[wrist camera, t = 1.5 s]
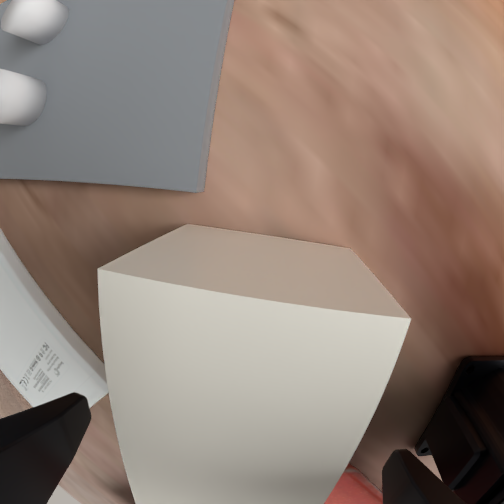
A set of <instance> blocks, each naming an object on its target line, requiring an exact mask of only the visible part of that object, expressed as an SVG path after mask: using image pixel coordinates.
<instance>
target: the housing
mask: <svg viewBox="0 0 504 504" xmlns="http://www.w3.org/2000/svg"><path fill="white" fill-rule="evenodd" d="M98 296H99V313H100V326H101V337H102V347H103V356H104V364H105V372H106V379H107V385H108V392H109V398H110V403H111V409H112V414H113V419H114V424H115V429H116V434H117V438H118V443H119V447H120V451H121V455H122V459H123V463H124V467H125V470H126V474H127V478H128V481H129V484H130V488H131V491H132V494H133V498H134V501H135V504H324V503H325V501H326V500H327V498H328V496H329V495H330V493H331V492H332V490H333V488H334V487H335V485H336V484H337V482H338V480H339V479H340V477H341V475H342V474H343V472H344V470H345V468H346V467H347V465H348V463H349V461H350V460H351V458H352V456H353V454H354V452H355V450H356V449H357V447H358V445H359V443H360V441H361V439H362V437H363V435H364V433H365V431H366V429H367V427H368V425H369V423H370V421H371V419H372V417H373V415H374V413H375V410H376V408H377V406H378V404H379V402H380V399H381V397H382V395H383V393H384V390H385V388H386V385H387V383H388V381H389V378H390V376H391V373H392V371H393V368H394V366H395V363H396V361H397V358H398V355H399V353H400V350H401V347H402V344H403V341H404V339H405V336H406V333H407V330H408V327H409V324H410V321H411V318H410V317H409V315H408V314H407V313H406V312H405V311H404V309H403V308H402V307H401V306H400V305H399V303H398V302H397V301H396V300H395V299H394V297H393V296H392V295H391V294H390V293H389V291H388V290H387V289H386V288H385V287H384V286H383V284H382V283H381V282H380V281H379V280H378V279H377V277H376V276H375V275H374V274H373V273H372V272H371V271H370V269H369V268H368V267H367V266H366V265H365V264H364V263H363V262H362V260H361V259H360V258H359V257H358V256H357V255H356V254H355V253H354V252H353V250H352V249H351V248H346V247H340V246H334V245H327V244H321V243H315V242H308V241H302V240H295V239H289V238H282V237H276V236H269V235H262V234H256V233H249V232H242V231H235V230H228V229H221V228H214V227H207V226H200V225H193V224H186V225H184V226H182V227H179V228H177V229H175V230H173V231H171V232H169V233H167V234H165V235H163V236H161V237H159V238H157V239H155V240H153V241H151V242H149V243H147V244H145V245H143V246H141V247H139V248H137V249H135V250H133V251H131V252H129V253H127V254H125V255H123V256H121V257H119V258H117V259H115V260H113V261H111V262H109V263H107V264H105V265H104V266H102V267H100V268H98Z"/></svg>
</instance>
